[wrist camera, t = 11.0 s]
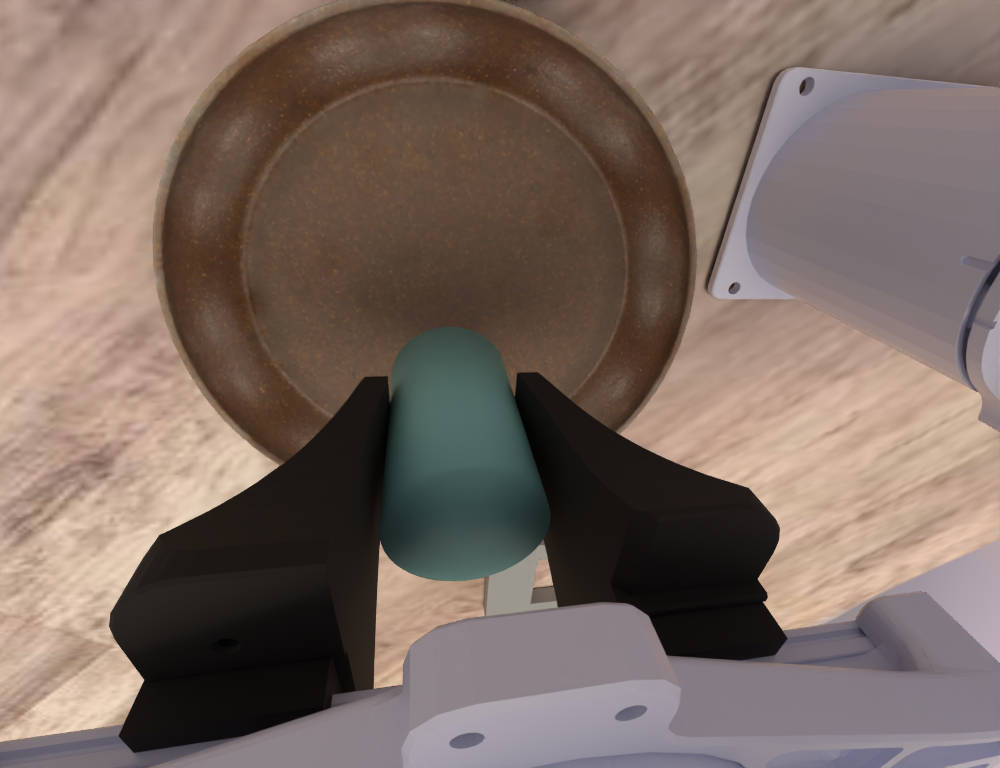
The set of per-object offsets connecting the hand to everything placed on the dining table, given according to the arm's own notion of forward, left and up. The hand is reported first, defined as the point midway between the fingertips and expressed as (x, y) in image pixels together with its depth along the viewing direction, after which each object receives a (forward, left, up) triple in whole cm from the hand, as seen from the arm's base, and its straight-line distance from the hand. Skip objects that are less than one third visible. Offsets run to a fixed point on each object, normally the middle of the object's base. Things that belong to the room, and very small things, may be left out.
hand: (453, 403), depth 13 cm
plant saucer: (0, -1, -7) cm, 7 cm away
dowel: (0, 0, -2) cm, 2 cm away
